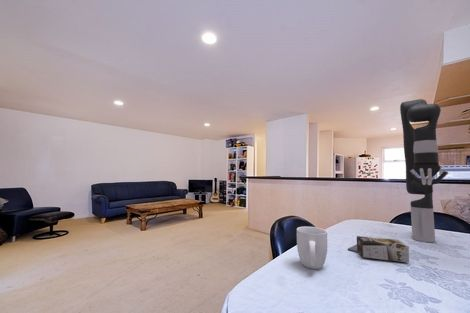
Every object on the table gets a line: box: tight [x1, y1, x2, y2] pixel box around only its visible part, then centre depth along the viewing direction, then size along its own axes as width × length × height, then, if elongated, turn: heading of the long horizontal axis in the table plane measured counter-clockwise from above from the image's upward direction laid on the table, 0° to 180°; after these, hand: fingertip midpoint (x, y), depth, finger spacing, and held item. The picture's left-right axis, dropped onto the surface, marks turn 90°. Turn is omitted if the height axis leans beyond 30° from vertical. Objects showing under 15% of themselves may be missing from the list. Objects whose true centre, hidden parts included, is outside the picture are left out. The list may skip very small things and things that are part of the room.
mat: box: [347, 243, 392, 262], centre depth 97 cm, size 18×16×1 cm
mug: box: [296, 226, 328, 270], centre depth 79 cm, size 15×11×13 cm
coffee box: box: [356, 235, 410, 263], centre depth 89 cm, size 9×6×16 cm
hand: (428, 194), depth 87 cm, fingers closed
